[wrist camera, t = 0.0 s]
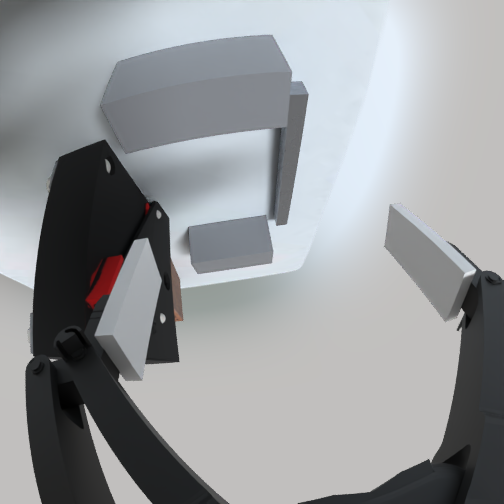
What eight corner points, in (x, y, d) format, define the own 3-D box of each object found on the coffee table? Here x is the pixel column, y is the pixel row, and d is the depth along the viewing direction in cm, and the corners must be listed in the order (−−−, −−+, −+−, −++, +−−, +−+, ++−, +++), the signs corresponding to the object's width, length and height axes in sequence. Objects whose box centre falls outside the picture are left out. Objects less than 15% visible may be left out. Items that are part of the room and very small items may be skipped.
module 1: (117, 62, 16) (100, 105, 14) (272, 34, 17) (292, 71, 15) (134, 105, 21) (125, 153, 19) (270, 82, 22) (287, 127, 19)
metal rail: (284, 82, 22) (289, 94, 21) (302, 81, 22) (308, 94, 21) (273, 214, 44) (276, 225, 43) (284, 212, 44) (286, 224, 43)
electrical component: (45, 163, 24) (18, 355, 17) (121, 133, 24) (108, 356, 16) (112, 230, 40) (114, 365, 33) (173, 217, 40) (184, 361, 33)
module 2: (188, 227, 43) (191, 263, 41) (266, 215, 44) (273, 251, 42) (194, 240, 48) (197, 274, 46) (265, 229, 48) (271, 263, 46)
